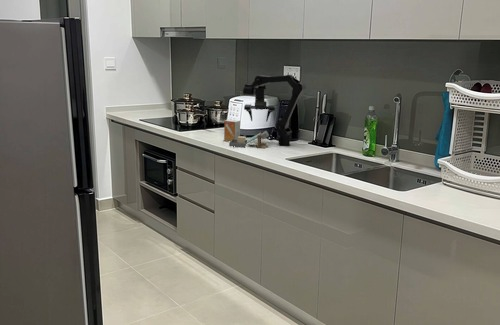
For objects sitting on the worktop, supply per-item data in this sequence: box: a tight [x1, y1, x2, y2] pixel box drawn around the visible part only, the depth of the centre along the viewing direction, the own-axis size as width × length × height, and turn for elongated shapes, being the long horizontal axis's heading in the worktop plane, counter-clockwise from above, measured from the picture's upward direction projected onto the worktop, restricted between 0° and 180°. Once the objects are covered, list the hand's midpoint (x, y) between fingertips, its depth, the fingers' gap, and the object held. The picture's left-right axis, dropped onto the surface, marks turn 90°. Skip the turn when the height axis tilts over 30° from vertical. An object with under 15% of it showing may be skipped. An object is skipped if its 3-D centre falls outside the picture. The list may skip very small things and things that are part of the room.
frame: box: [256, 131, 267, 149], centre depth 287 cm, size 5×13×8 cm, turn 175°
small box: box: [223, 119, 241, 142], centre depth 300 cm, size 8×6×13 cm
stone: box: [237, 135, 247, 143], centre depth 288 cm, size 5×5×4 cm
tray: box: [228, 139, 248, 148], centre depth 288 cm, size 9×12×2 cm
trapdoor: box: [247, 130, 270, 144], centre depth 287 cm, size 12×9×4 cm
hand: (259, 121), depth 297 cm, fingers open, 9 cm apart
